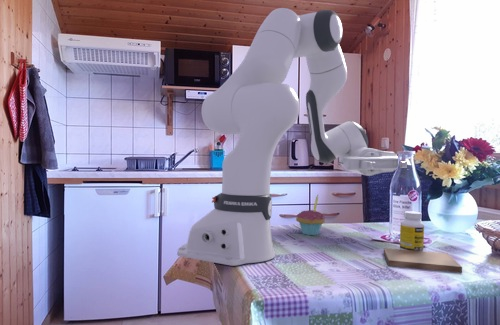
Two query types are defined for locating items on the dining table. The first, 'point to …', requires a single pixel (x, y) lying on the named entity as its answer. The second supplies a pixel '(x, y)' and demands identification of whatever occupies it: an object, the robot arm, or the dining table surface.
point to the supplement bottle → (412, 232)
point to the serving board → (421, 260)
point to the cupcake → (310, 220)
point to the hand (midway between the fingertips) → (389, 165)
